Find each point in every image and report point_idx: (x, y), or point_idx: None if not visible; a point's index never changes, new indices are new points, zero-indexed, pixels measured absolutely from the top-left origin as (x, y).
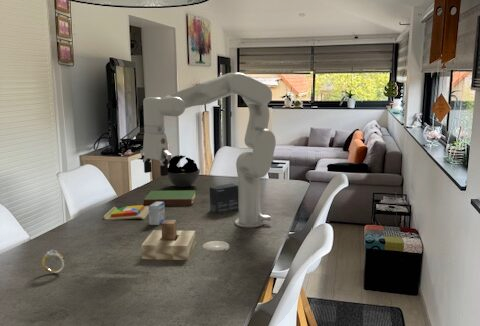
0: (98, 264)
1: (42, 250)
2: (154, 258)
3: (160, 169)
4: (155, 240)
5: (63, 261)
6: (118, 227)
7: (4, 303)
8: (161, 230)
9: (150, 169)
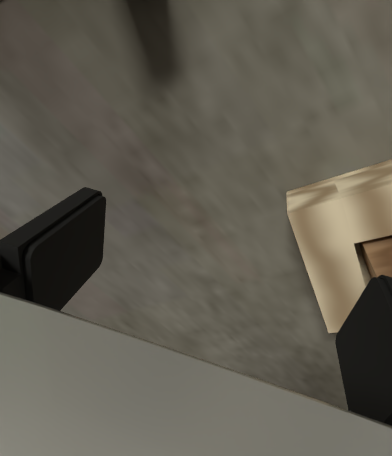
0: (230, 330)
1: None
2: None
3: (353, 406)
4: (353, 294)
5: None
6: (57, 93)
7: None
8: (321, 206)
9: (91, 220)
